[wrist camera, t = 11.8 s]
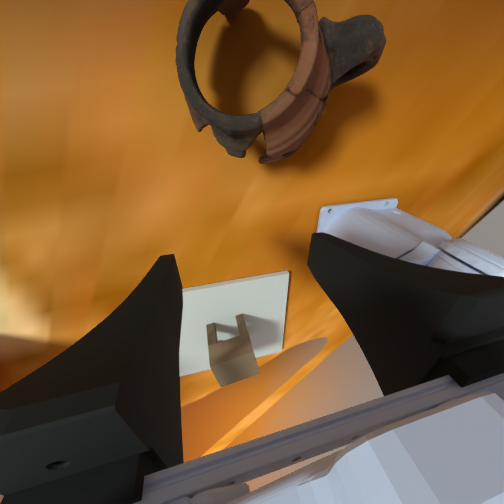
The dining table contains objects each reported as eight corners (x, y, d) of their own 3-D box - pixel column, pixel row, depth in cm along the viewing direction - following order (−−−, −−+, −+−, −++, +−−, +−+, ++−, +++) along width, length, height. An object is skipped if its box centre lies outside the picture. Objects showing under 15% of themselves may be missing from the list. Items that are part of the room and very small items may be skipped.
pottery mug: (237, 186, 20) (202, 178, 12) (196, 80, 19) (126, -6, 11) (373, 126, 17) (441, 66, 9) (337, -6, 16) (383, -209, 8)
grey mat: (287, 270, 27) (289, 273, 26) (280, 347, 35) (281, 351, 35) (148, 294, 24) (148, 298, 23) (178, 373, 32) (178, 377, 32)
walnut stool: (242, 313, 28) (253, 351, 23) (249, 335, 31) (259, 373, 26) (206, 324, 27) (209, 366, 23) (215, 346, 30) (221, 387, 26)
